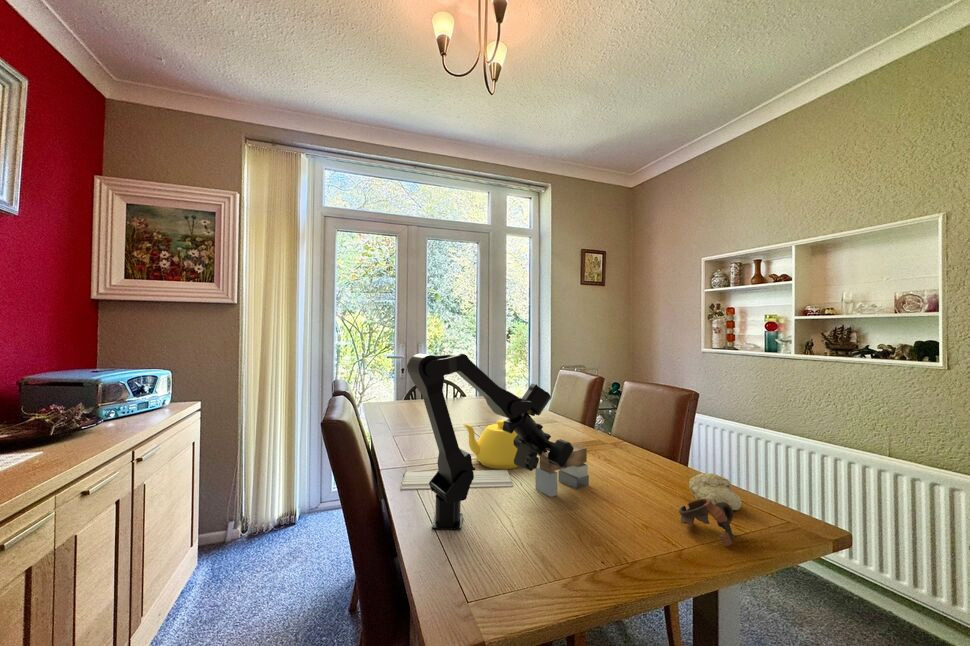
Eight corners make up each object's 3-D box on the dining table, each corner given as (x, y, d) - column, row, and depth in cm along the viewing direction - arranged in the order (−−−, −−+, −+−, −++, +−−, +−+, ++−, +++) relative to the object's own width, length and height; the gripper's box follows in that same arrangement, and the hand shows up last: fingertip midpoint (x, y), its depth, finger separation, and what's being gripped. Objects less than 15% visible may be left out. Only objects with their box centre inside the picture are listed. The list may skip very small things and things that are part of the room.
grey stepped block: (576, 489, 102) (576, 467, 102) (558, 481, 108) (558, 460, 108) (588, 485, 105) (588, 464, 105) (570, 477, 111) (570, 457, 111)
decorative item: (674, 484, 97) (692, 461, 102) (686, 512, 98) (704, 489, 103) (723, 496, 87) (740, 470, 92) (736, 528, 87) (752, 501, 93)
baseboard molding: (513, 491, 102) (506, 474, 114) (513, 480, 102) (507, 465, 114) (400, 494, 99) (405, 477, 111) (400, 483, 99) (405, 467, 111)
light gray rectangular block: (550, 497, 97) (550, 474, 98) (535, 488, 102) (535, 467, 102) (557, 494, 99) (557, 472, 99) (541, 487, 104) (542, 465, 104)
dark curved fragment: (721, 555, 73) (696, 513, 76) (686, 552, 81) (665, 513, 84) (756, 528, 78) (732, 488, 81) (720, 527, 86) (699, 491, 89)
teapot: (467, 474, 112) (467, 429, 113) (457, 455, 130) (457, 416, 130) (543, 468, 118) (543, 425, 119) (524, 450, 136) (524, 413, 136)
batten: (548, 472, 99) (548, 457, 99) (539, 468, 102) (539, 453, 102) (586, 462, 107) (586, 448, 107) (577, 458, 110) (577, 445, 110)
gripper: (489, 445, 102) (520, 477, 107) (534, 465, 86) (567, 501, 92) (512, 413, 106) (540, 445, 112) (558, 427, 91) (588, 464, 96)
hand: (557, 463), depth 103 cm, fingers open, 6 cm apart
